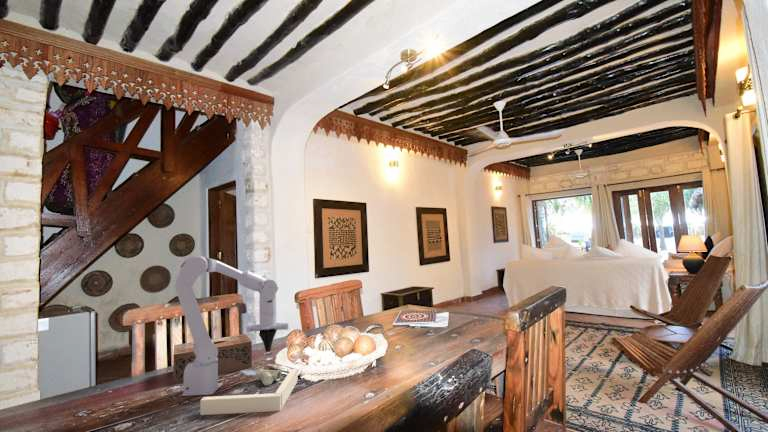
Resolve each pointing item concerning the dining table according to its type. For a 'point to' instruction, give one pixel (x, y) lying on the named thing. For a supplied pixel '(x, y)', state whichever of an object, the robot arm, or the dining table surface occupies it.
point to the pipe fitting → (268, 376)
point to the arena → (250, 400)
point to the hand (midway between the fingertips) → (268, 350)
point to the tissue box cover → (230, 356)
